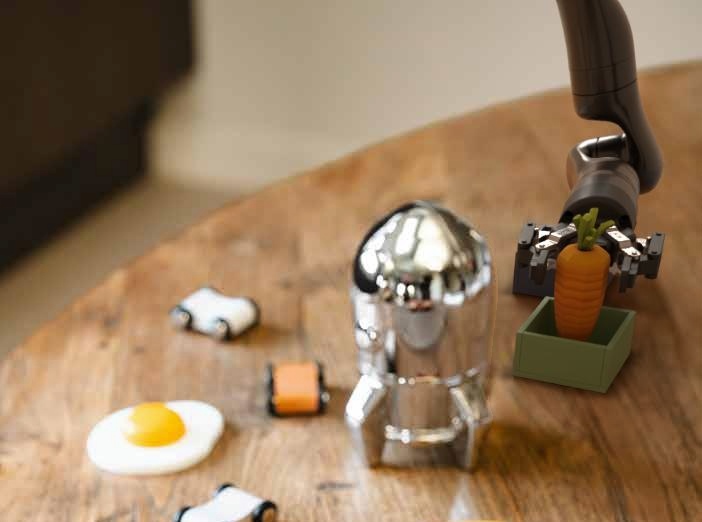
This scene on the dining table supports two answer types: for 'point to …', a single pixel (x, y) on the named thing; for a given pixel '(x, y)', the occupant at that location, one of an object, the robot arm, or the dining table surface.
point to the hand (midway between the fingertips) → (581, 279)
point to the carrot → (581, 280)
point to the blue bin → (528, 286)
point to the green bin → (573, 349)
